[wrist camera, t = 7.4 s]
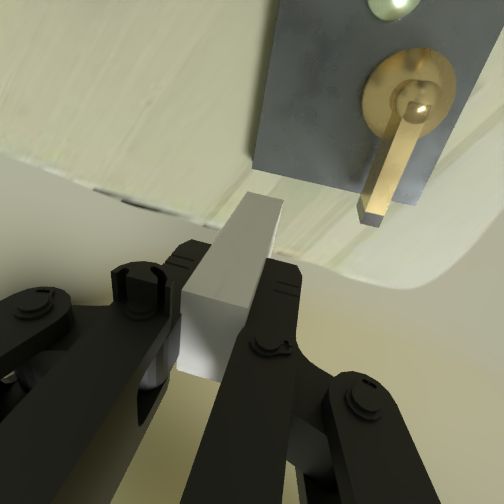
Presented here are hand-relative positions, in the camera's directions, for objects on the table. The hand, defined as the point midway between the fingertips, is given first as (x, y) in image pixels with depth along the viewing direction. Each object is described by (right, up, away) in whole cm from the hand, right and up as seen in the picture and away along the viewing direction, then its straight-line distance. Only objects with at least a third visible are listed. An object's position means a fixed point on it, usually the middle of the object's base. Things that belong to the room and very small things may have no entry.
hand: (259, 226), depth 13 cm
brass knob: (+11, +8, +12) cm, 18 cm away
